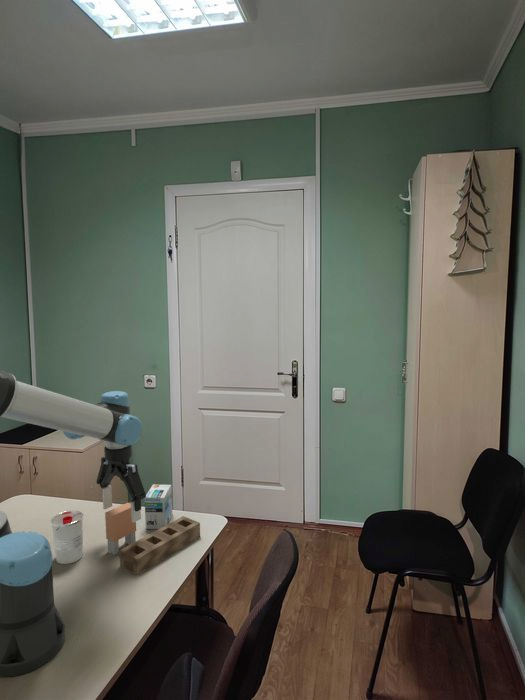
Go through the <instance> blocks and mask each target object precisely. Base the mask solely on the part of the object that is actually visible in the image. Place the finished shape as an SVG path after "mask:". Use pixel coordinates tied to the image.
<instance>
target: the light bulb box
mask: <svg viewBox="0 0 525 700" xmlns="http://www.w3.org/2000/svg"><path fill="white" fill-rule="evenodd" d="M172 486H173V485H172V484H155V483H154V484H152V485H151V487H150V489H149V490H148V492H147V493H146V497H145V498H144V514H145V515H144V516H145V530H158V529H160V528H162V527H164V526H166V525H168V524H169V523H170V520H171V519H172V516H173V487H172Z"/></svg>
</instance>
